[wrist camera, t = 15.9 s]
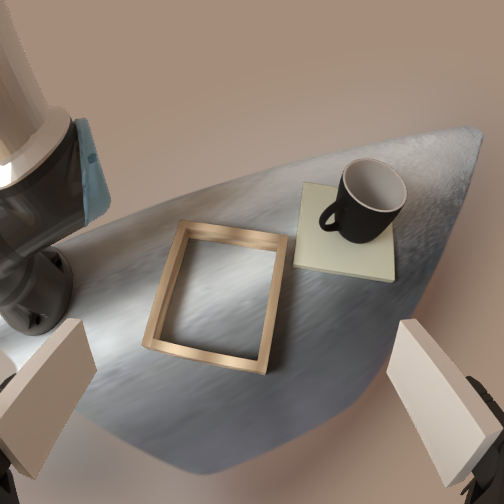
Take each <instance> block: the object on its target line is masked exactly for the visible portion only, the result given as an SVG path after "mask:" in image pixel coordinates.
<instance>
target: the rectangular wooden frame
mask: <svg viewBox="0 0 504 504" xmlns="http://www.w3.org/2000/svg"><path fill="white" fill-rule="evenodd" d="M189 238H192V239H198V240H205V241H211V242H217V243H224V244H230V245H236V246H243V247H249V248H255V249H262V250H268V251H274V252H277V253H276V259H275V265H274V271H273V277H272V282H271V288H270V294H269V300H268V306H267V311H266V317H265V323H264V328H263V334H262V339H261V345H260V350H259V355H258V361H254V360H248V359H243V358H237V357H232V356H227V355H222V354H217V353H212V352H207V351H203V350H198V349H194V348H189V347H185V346H181V345H177V344H173V343H168V342H164V341H161V340H160V337H161V333H162V329H163V325H164V322H165V318H166V314H167V311H168V307H169V304H170V300H171V297H172V293H173V290H174V286H175V283H176V280H177V276H178V273H179V270H180V266H181V263H182V260H183V256H184V253H185V250H186V247H187V244H188V240H189ZM287 240H288V236H285V235H279V234H272V233H266V232H259V231H253V230H246V229H240V228H233V227H226V226H220V225H213V224H206V223H199V222H192V221H185V220H180V222H179V225H178V228H177V231H176V234H175V237H174V239H173V242H172V245H171V248H170V251H169V254H168V257H167V260H166V263H165V267H164V270H163V273H162V276H161V279H160V282H159V286H158V289H157V292H156V295H155V299H154V302H153V305H152V309H151V312H150V316H149V319H148V323H147V326H146V330H145V333H144V337H143V341H142V344H141V345H142V346H144V347H145V348H147V349H149V350H153V351H157V352H160V353H164V354H168V355H172V356H176V357H180V358H184V359H188V360H193V361H197V362H201V363H206V364H210V365H215V366H220V367H225V368H230V369H235V370H240V371H246V372H251V373H257V374H263V375H265V374H266V369H267V364H268V358H269V353H270V347H271V341H272V335H273V329H274V323H275V317H276V311H277V305H278V299H279V293H280V287H281V280H282V274H283V267H284V261H285V254H286V247H287Z"/></svg>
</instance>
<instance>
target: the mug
mask: <svg viewBox="0 0 504 504" xmlns="http://www.w3.org/2000/svg"><path fill="white" fill-rule="evenodd" d="M406 199H407V189H406V185H405V183H404V181H403V179H402V178H401V177H400V175H399V174H398V173H397V172H396V171H395V170H394V169H393V168H391V167H390V166H388V165H387V164H385V163H383V162H380V161H377V160H374V159H358V160H354V161H352V162H351V163H349V164H348V165H347V166H346V168H345V169H344V171H343V174H342V177H341V180H340V184H339V188H338V192H337V197H336V201H335V202H334V203H332V204H331V205H329V206H328V207H327V208H326V209H325V210H324V211H323V213H322V214H321V216H320V218H319V225H320V227H321V229H322V230H324V231H326V232H333V231H338V232H339V233H340V235H341V236H342V237H343V238H345V239H346V240H348V241H350V242H352V243H356V244H363V243H368V242H370V241H372V240H374V239H375V238H376V237H378V236H379V235H380V234H381V233H382V232H383V231H384V230H385V229H386V228H387V227H388V226H389V225H390V224H391V222H392V221H393V220H394V219H395V217H396V216H397V215H398V213H399V212H400V210H401V209H402V207H403V206H404V204H405V202H406ZM333 214H334V220H335V222H333V223H332V224H326V222H327V220H328V219H329V218H330V216H331V215H333Z"/></svg>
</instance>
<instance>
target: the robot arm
mask: <svg viewBox="0 0 504 504" xmlns="http://www.w3.org/2000/svg"><path fill="white" fill-rule="evenodd" d="M110 203H111V197H110V194H109V190H108V187H107V184H106V180H105V178H104V174H103V171H102V168H101V164H100V161H99V158H98V154H97V151H96V147H95V144H94V140H93V137H92V133H91V130H90V126H89V123H88V120H87V119H86V118H82V119H75V121H74V122H73V121H72V119H71V117H70V115H69V114H68V112H67V110H66V109H65V108H63V107H59V106H50V105H48V104H47V102H46V100H45V97H44V95H43V93H42V91H41V89H40V87H39V85H38V82H37V80H36V78H35V76H34V73H33V71H32V69H31V67H30V64H29V62H28V60H27V57H26V55H25V52H24V50H23V47H22V45H21V42H20V40H19V37H18V35H17V32H16V29H15V27H14V24H13V21H12V18H11V15H10V12H9V9H8V6H7V3H6V0H0V315H1V316H2V317H3V318H4V320H5V321H6V322H7V323H8V324H9V325H10V326H11V327H12V328H13V329H15V330H17V331H19V332H21V333H23V334H25V335H29V336H36V335H40V334H43V333H45V332H47V331H48V330H50V329H51V328H52V327H54V326H55V325H56V324H57V322H58V321H59V320H60V319H61V317H62V316H63V314H64V312H65V311H66V309H67V306H68V304H69V301H70V297H71V293H72V285H73V279H72V272H71V268H70V265H69V263H68V261H67V260H66V259H65V257H64V256H63V255H62V254H61V253H60V252H59V251H58V250H56V249H55V248H53V247H52V246H50V245H52V244H54V243H56V242H57V241H59V240H61V239H63V238H65V237H66V236H68V235H70V234H72V233H74V232H76V231H77V230H79V229H81V228H83V227H86V226H87V225H88V224H89V223H90V222H91V221H93V220H95V219H96V218H98V217H100V216H101V215H103V214H104V213H105V212H106V211H107V210H108V208H109V206H110ZM96 372H97V369H96V366H95V363H94V360H93V357H92V353H91V350H90V347H89V344H88V340H87V337H86V333H85V330H84V326H83V322H82V320H81V319H72V318H67V319H66V320H65V321H64V322H63V323H62V325H61V326H60V327H59V328H58V329H57V330H56V331H55V332H54V333H53V334H52V335H51V336H50V337H49V338H48V339H47V340H46V342H45V343H44V344H43V345H42V346H41V347H40V348H39V349H38V350H37V351H36V352H35V354H34V355H33V356H32V357H31V358H30V359H29V360H28V361H27V363H26V364H25V365H24V366H23V367H22V368H21V369H20V371H19V372H18V373H15V374H13V375H12V376H10V377H9V378H7V379H6V380H5V381H4V382H3V383H2V384H1V385H0V504H19V500H18V496H17V492H16V488H15V484H14V480H13V475H12V473H11V471H10V470H9V467H10V465H11V463H12V465H13V466H14V467H15V468H16V469H17V471H18V472H19V473H21V474H23V475H25V476H27V477H29V478H31V479H33V480H36V478H37V476H38V474H39V472H40V470H41V468H42V466H43V464H44V462H45V460H46V459H47V457H48V455H49V453H50V451H51V449H52V447H53V446H54V444H55V442H56V440H57V438H58V436H59V435H60V433H61V431H62V429H63V428H64V426H65V424H66V422H67V420H68V419H69V417H70V415H71V414H72V412H73V410H74V408H75V407H76V405H77V403H78V402H79V400H80V398H81V397H82V395H83V393H84V391H85V390H86V388H87V387H88V385H89V383H90V382H91V380H92V378H93V377H94V375H95V373H96ZM386 373H387V374H388V376H389V378H390V380H391V382H392V383H393V385H394V387H395V389H396V391H397V393H398V395H399V396H400V398H401V400H402V402H403V404H404V406H405V408H406V410H407V411H408V413H409V415H410V417H411V419H412V421H413V423H414V425H415V427H416V429H417V431H418V433H419V435H420V437H421V439H422V441H423V443H424V445H425V447H426V449H427V451H428V453H429V455H430V457H431V459H432V461H433V463H434V465H435V467H436V470H437V472H438V474H439V476H440V478H441V480H442V482H443V485H444V487H445V488H448V487H450V486H453V485H455V484H457V483H460V482H462V481H464V479H465V478H466V477H467V476H468V475H469V473H470V472H471V471H472V473H473V475H474V476H475V477H474V478H473V479H472V480H471V481H470V483H469V484H468V485H467V486H466V487H465V488H464V489H463V490H462V492H461V495H463V494H464V493H465V492H466V491H467V490H468V489H469V490H468V494H467V497H466V500H465V503H464V504H504V412H503V411H502V410H501V408H500V407H499V406H498V404H497V403H496V402H495V401H493V398H492V397H491V395H490V394H488V393H487V391H486V389H485V388H484V387H483V385H482V384H481V383H480V382H478V381H477V380H475V379H474V378H472V377H471V376H467V377H464V375H463V374H462V373H461V372H460V370H459V369H458V368H457V367H456V366H455V364H454V363H453V362H452V361H451V359H450V358H449V357H448V356H447V355H446V354H445V352H444V351H443V350H442V349H441V347H440V346H439V345H438V344H437V343H436V342H435V340H434V339H433V338H432V337H431V336H430V335H429V334H428V332H427V331H426V330H425V329H424V328H423V327H422V326H421V325H420V323H419V322H418V321H417V320H416V319H408V320H400V323H399V327H398V332H397V336H396V340H395V343H394V347H393V351H392V355H391V358H390V362H389V365H388V369H387V372H386Z"/></svg>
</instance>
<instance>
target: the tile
mask: <svg viewBox="0 0 504 504" xmlns="http://www.w3.org/2000/svg"><path fill="white" fill-rule="evenodd" d="M337 192H338V188H337V187H332V186H326V185H320V184H314V183H308V182H303V187H302V196H301V204H300V213H299V221H298V229H297V237H296V245H295V252H294V260H293V267H294V268H300V269H306V270H313V271H319V272H325V273H332V274H338V275H344V276H351V277H357V278H364V279H370V280H377V281H383V282H390V283H392V282H393V281H394V280H395V272H394V246H393V229H392V222H391V224H390V225H389V226H388V227H387V228H386V229H385V230H384V231H383V232H382V233H381V234H380V235H379V236H378V237H376V238H375V239H374V240H372V241H370V242H368V243H363V244H356V243H352V242H350V241H348V240H346V239H345V238H343V237H342V236H341V235H340V233H339V232H338V231H333V232H326V231H324V230H322V229H321V227H320V225H319V218H320V216H321V214H322V213H323V211H324V210H325V209H326V208H327V207H328V206H329V205H331V204H332V203H334V202H335V201H336V197H337ZM333 222H335V220H334V214H333V215H331V216H330V218H329V219H328V220H327V222H326V224H332V223H333Z"/></svg>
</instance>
